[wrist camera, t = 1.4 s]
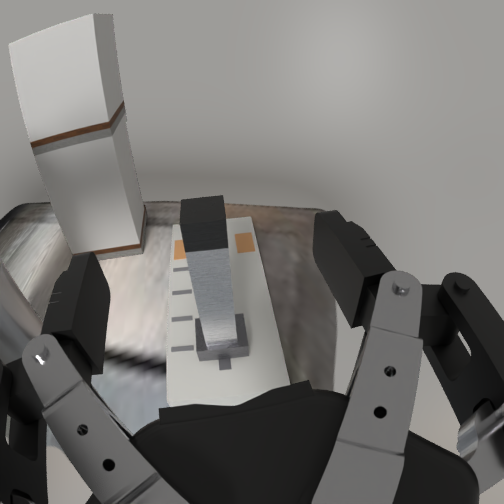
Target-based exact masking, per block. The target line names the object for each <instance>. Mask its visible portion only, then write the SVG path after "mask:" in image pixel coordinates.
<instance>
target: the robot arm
mask: <svg viewBox="0 0 504 504" xmlns="http://www.w3.org/2000/svg"><path fill="white" fill-rule="evenodd" d="M313 255H314V259H315V262H316V264H317V266H318V268H319V270H320V271H321V273H322V275H323V277H324V279H325V280H326V282H327V284H328V286H329V288H330V290H331V291H332V293H333V295H334V297H335V299H336V301H337V302H338V304H339V306H340V308H341V310H342V312H343V314H344V316H345V317H346V319H347V321H348V323H349V325H350V327H351V328H355V327H358V326H363V327H364V329H365V333H364V336H363V339H362V343H361V347H360V350H359V354H358V357H357V360H356V364H355V367H354V370H353V374H352V377H351V380H350V383H349V386H348V388H347V391H346V394H345V395H344V394H341V393H337V392H334V391H328V390H319V389H312V387H311V385H310V382H309V380H307V381H303V382H299V383H295V384H291V385H287V386H283V387H279V388H275V389H271V390H269V391H267V392H265V393H263V394H261V395H259V396H257V397H255V398H253V399H250V400H248V401H246V402H244V403H242V404H239V405H236V406H223V405H207V404H189V405H182V406H175V407H167V408H159V418H160V419H157V420H155V421H153V422H151V423H149V424H147V425H146V426H144V427H143V428H141V429H140V430H139V431H138V432H136V433H135V434H134V435H133V433H132V432H131V431H130V430H129V429H128V428H127V427H126V426H125V425H124V424H123V423H122V422H121V420H120V419H119V418H118V417H117V416H116V415H115V413H114V412H113V411H112V410H111V408H110V407H109V406H108V405H107V403H106V402H105V401H104V400H103V398H102V397H101V396H100V394H99V393H98V392H97V391H96V389H95V388H94V387H93V385H92V384H91V377H92V375H97V374H103V363H104V351H105V341H106V331H107V322H108V314H109V307H110V289H109V285H108V283H107V280H106V278H105V276H104V274H103V271H102V269H101V267H100V264H99V262H98V260H97V257H96V255H95V254H94V252H88V253H83V254H78V255H74V256H73V257H72V260H71V263H70V266H69V269H68V271H64V272H63V273H62V274H61V275H60V277H59V278H58V279H57V281H56V282H55V285H54V289H53V292H52V295H51V298H50V301H49V302H50V304H49V305H48V308H47V312H46V315H45V319H44V322H42V321H41V320H40V318H39V317H38V315H37V314H36V312H35V311H34V310H33V308H32V307H31V305H30V304H29V302H28V301H27V299H26V298H25V296H24V295H23V293H22V292H21V290H20V289H19V287H18V286H17V284H16V283H15V281H14V279H13V278H12V276H11V275H10V273H9V271H8V270H7V268H6V266H5V265H4V263H3V261H2V259H1V258H0V504H48V493H47V475H46V474H47V472H46V432H47V424H48V426H49V428H50V429H51V431H52V433H53V434H54V436H55V438H56V439H57V441H58V443H59V444H60V446H61V447H62V449H63V451H64V452H65V454H66V455H67V457H68V458H69V460H70V461H71V463H72V464H73V466H74V467H75V469H76V470H77V471H78V473H79V474H80V476H81V477H82V478H83V480H84V481H85V482H86V484H87V485H88V487H89V488H90V489H91V491H92V492H93V494H92V495H91V496H90V498H89V499H88V501H87V502H86V504H479V495H480V494H481V493H483V492H484V491H486V490H487V489H489V488H490V487H492V486H493V485H495V484H496V483H497V482H499V481H500V480H502V479H503V478H504V321H503V320H502V318H501V317H500V315H499V314H498V313H497V311H496V310H495V308H494V307H493V306H492V304H491V303H490V302H489V300H488V299H487V297H486V296H485V295H484V293H483V292H482V291H481V290H480V288H479V287H478V286H477V284H476V283H475V282H474V281H473V280H472V279H471V278H469V277H468V276H466V275H464V274H461V273H456V272H455V273H449V274H447V275H446V276H445V277H444V279H443V281H442V284H441V285H426V284H420V282H419V281H418V279H416V278H415V277H414V276H413V275H411V274H409V273H407V272H403V271H396V269H395V268H394V267H393V265H392V264H391V263H390V262H389V260H388V259H387V258H386V257H385V255H384V254H383V253H382V251H381V250H380V249H379V248H378V246H376V244H375V243H374V241H373V240H372V239H370V236H369V235H368V234H367V233H366V231H365V230H364V229H363V228H362V227H360V226H358V225H357V224H355V223H353V222H352V221H350V222H346V220H345V219H344V218H343V217H342V215H341V214H340V213H339V212H338V211H337V210H333V211H326V212H320V213H316V215H315V222H314V237H313ZM459 331H460V332H461V334H462V336H463V337H464V339H465V341H466V342H467V344H468V346H469V347H470V350H471V356H470V354H469V353H468V351H467V349H466V348H465V346H464V344H463V343H462V341H461V339H460V338H459V336H458V332H459ZM422 349H423V351H424V353H425V354H426V356H427V358H428V360H429V362H430V364H431V366H432V367H433V370H434V372H435V374H436V376H437V378H438V379H439V381H440V383H441V385H442V387H443V390H444V392H445V394H446V396H447V398H448V400H449V402H450V404H451V406H452V408H453V410H454V412H455V415H456V417H457V419H458V421H459V423H460V429H459V431H458V443H457V450H458V452H459V453H460V456H458V455H456V454H454V453H452V452H450V451H448V450H446V449H444V448H442V447H440V446H438V445H436V444H434V443H432V442H430V441H428V440H426V439H424V438H422V437H421V436H419V435H417V434H415V433H413V432H411V431H410V430H409V426H410V421H411V417H412V411H413V406H414V401H415V396H416V390H417V384H418V378H419V371H420V364H421V357H422ZM7 414H8V415H9V416H10V417H11V421H10V432H9V445H8V444H7V441H6V437H5V432H6V421H7Z"/></svg>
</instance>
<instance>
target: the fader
mask: <svg viewBox="0 0 504 504" xmlns="http://www.w3.org/2000/svg"><path fill="white" fill-rule="evenodd" d="M180 229H181V234H182V239H183V244H184V249H185V254H186V259H187V264H188V269H189V273H190V278H191V283H192V287H193V292H194V296H195V300H196V305H197V309H198V313H199V318H195V333H196V352H197V355H198V358H199V362H200V361H210V360H220V359H229V358H238V357H246V356H249V345H248V339H247V333H246V327H245V320H244V314H243V313H241V314H235V312H234V302H233V291H232V281H231V270H230V258H229V247H228V235H227V223H226V214H225V207H224V200H223V195H221V196H211V197H202V198H193V199H184V200H181V211H180Z"/></svg>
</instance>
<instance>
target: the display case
mask: <svg viewBox="0 0 504 504" xmlns="http://www.w3.org/2000/svg"><path fill="white" fill-rule="evenodd" d="M9 52H10V58H11V64H12V69H13V74H14V79H15V85H16V89H17V94H18V98H19V103H20V106H21V110H22V115H23V118H24V122H25V126H26V129H27V133H28V137H29V140H30V143H31V147H32V150H33V153H34V156H35V159H36V163H37V166H38V168H39V172H40V175H41V177H42V180H43V183H44V186H45V189H46V191H47V194H48V197H49V199H50V202H51V205H52V207H53V210H54V212H55V215H56V217H57V220H58V222H59V224H60V227H61V229H62V232H63V234H64V236H65V239H66V241H67V243H68V245H69V248H70V250H71V252H72V254H73V256H74V255H78V254H83V253H88V252H94V254H95V255H96V257H97V260H104V259H111V258H118V257H125V256H131V255H138V254H143V248H144V238H145V229H146V220H147V212H146V207H145V205H143V201H142V197H141V193H140V188H139V184H138V180H137V176H136V171H135V166H134V161H133V156H132V152H131V147H130V142H129V137H128V131H127V126H126V121H127V117H126V112H125V106H124V100H123V93H122V87H121V80H120V73H119V66H118V59H117V51H116V42H115V34H114V24H113V14H90V15H86V16H83V17H80V18H76V19H73V20H70V21H67V22H64V23H61V24H58V25H55V26H52V27H49V28H47V29H44V30H42V31H39V32H36V33H34V34H31V35H29V36H27V37H24V38H22V39H19V40H17V41H15V42H12V43H10V44H9Z"/></svg>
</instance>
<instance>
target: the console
mask: <svg viewBox="0 0 504 504" xmlns="http://www.w3.org/2000/svg"><path fill="white" fill-rule="evenodd" d="M226 223H227V235H228V247H229V258H230V270H231V281H232V291H233V302H234V312H235V314H241V313H243V314H244V320H245V327H246V333H247V339H248V345H249V356H246V357H238V358H229V359H220V360H210V361H200V362H199V358H198V355H197V352H196V333H195V318H199V313H198V309H197V305H196V300H195V296H194V292H193V287H192V283H191V278H190V273H189V269H188V264H187V259H186V254H185V249H184V244H183V239H182V234H181V229H180V224H176V225H173V230H172V243H171V257H170V274H169V293H168V319H167V402H168V404H169V405H170V407H175V406H182V405H189V404H207V405H223V406H233V405H239V404H242V403H244V402H246V401H248V400H250V399H253V398H255V397H257V396H259V395H261V394H263V393H265V392H267V391H269V390H271V389H275V388H279V387H283V386H287V385H290V381H289V376H288V372H287V368H286V363H285V359H284V355H283V351H282V346H281V342H280V338H279V333H278V329H277V325H276V320H275V316H274V312H273V308H272V303H271V299H270V295H269V291H268V286H267V282H266V278H265V274H264V269H263V265H262V261H261V257H260V253H259V248H258V244H257V240H256V236H255V232H254V227H253V223H252V219H251V217H241V218H231V219H226Z"/></svg>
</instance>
